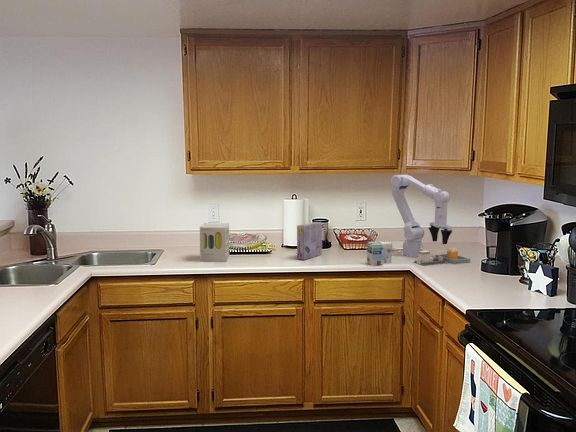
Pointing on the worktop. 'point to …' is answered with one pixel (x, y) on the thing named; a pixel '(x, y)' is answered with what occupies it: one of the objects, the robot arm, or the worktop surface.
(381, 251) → the light bulb box
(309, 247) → the cake pan box
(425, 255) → the cream rectangular block
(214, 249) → the supplement box
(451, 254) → the block
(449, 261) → the slate tray
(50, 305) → the worktop surface
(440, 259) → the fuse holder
